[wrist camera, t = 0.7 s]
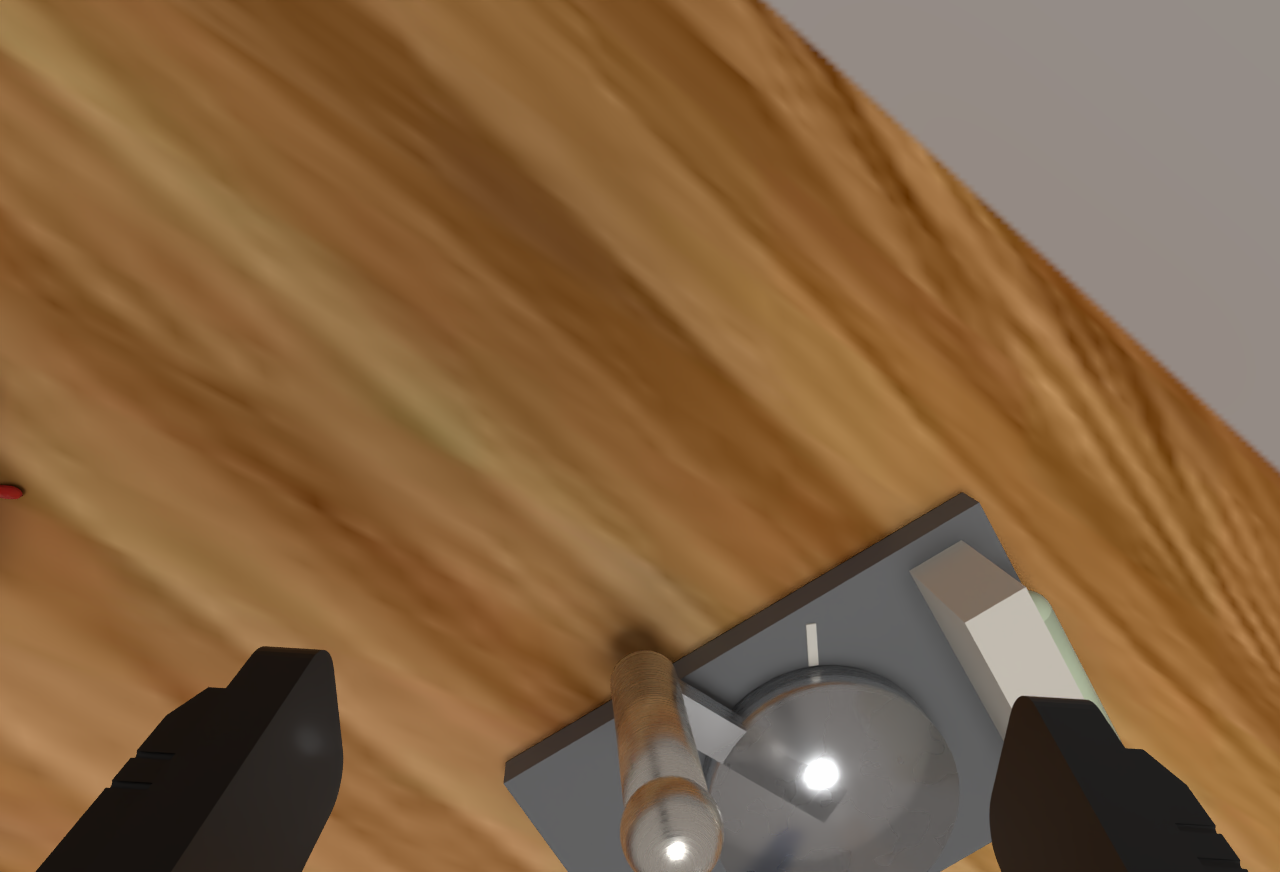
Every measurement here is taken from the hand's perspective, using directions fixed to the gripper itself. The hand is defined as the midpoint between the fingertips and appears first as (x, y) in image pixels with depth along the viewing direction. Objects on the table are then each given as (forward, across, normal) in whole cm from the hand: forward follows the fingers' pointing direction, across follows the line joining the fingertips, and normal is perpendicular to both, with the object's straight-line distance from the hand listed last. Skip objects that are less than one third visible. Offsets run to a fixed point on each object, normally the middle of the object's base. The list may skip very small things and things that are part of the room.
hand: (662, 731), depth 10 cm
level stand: (+22, -7, +20) cm, 30 cm away
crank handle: (+21, -4, +18) cm, 28 cm away
